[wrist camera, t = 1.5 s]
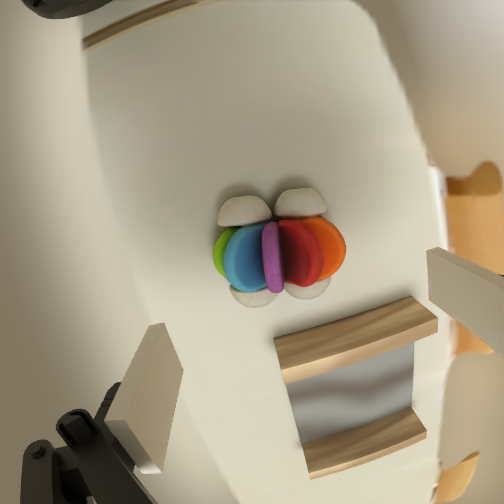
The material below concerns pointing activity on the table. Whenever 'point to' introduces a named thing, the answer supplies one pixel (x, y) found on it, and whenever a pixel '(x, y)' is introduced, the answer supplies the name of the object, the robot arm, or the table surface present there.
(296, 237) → the rainbow petal toy
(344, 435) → the bay
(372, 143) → the table surface
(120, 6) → the table surface
